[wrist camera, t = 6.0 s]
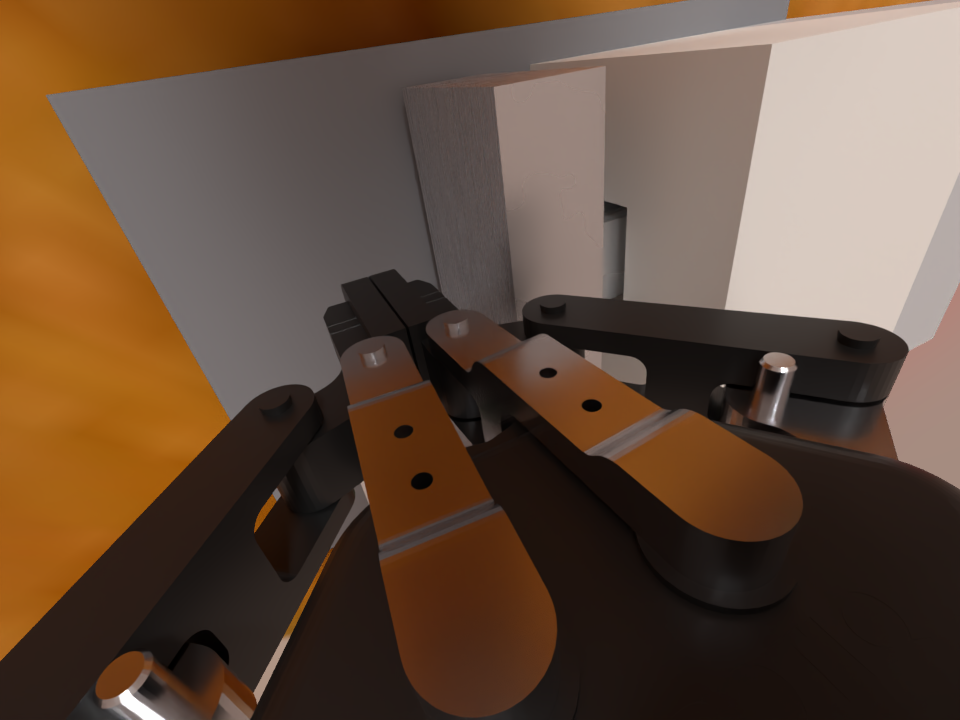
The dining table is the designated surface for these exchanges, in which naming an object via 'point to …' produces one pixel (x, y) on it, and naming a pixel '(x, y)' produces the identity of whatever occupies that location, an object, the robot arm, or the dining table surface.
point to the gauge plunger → (518, 188)
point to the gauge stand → (627, 174)
